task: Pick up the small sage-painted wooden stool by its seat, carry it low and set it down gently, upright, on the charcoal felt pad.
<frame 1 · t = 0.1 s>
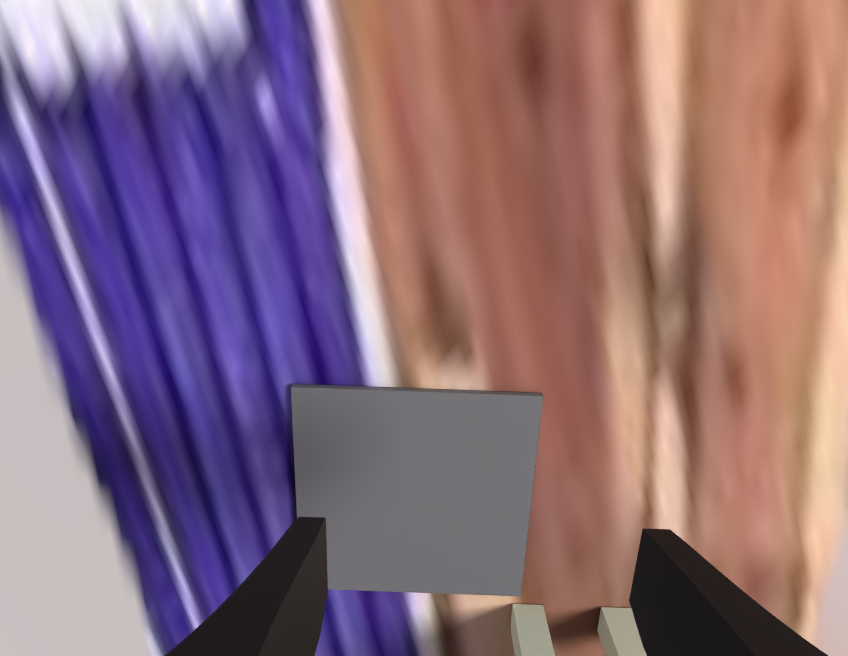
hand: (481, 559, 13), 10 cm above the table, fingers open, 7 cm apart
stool: (565, 651, 27), on the table
felt pad: (413, 494, 24), on the table
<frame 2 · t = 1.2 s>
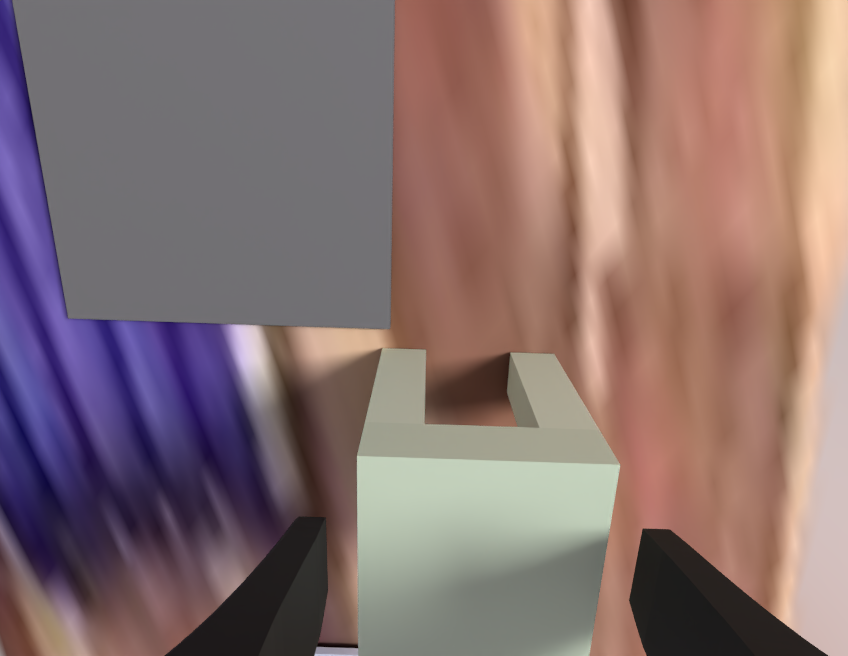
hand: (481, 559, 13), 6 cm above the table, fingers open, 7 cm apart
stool: (463, 427, 19), on the table
felt pad: (219, 155, 16), on the table
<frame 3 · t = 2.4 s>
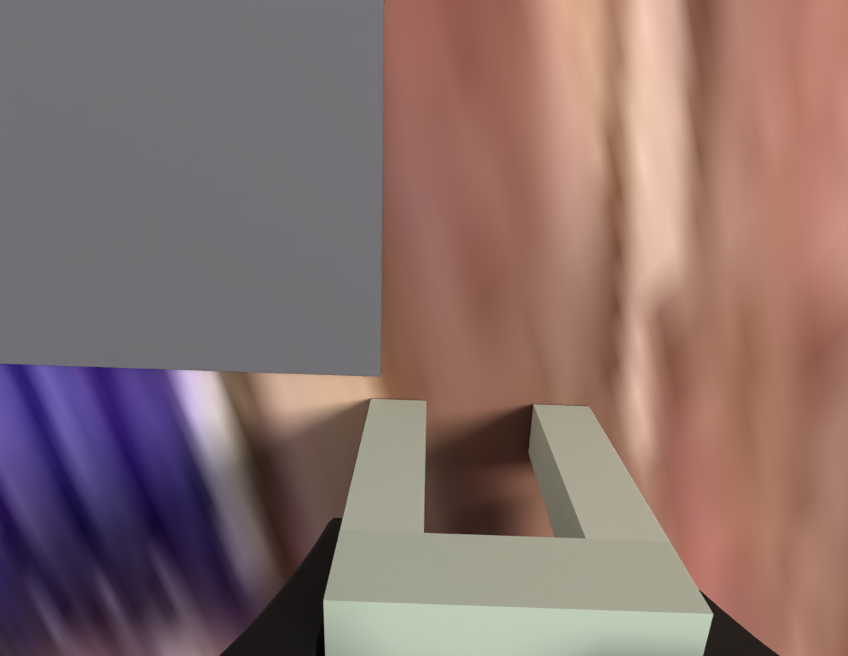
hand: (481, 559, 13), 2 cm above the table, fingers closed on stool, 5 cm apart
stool: (473, 495, 15), on the table, touching gripper
felt pad: (155, 153, 12), on the table
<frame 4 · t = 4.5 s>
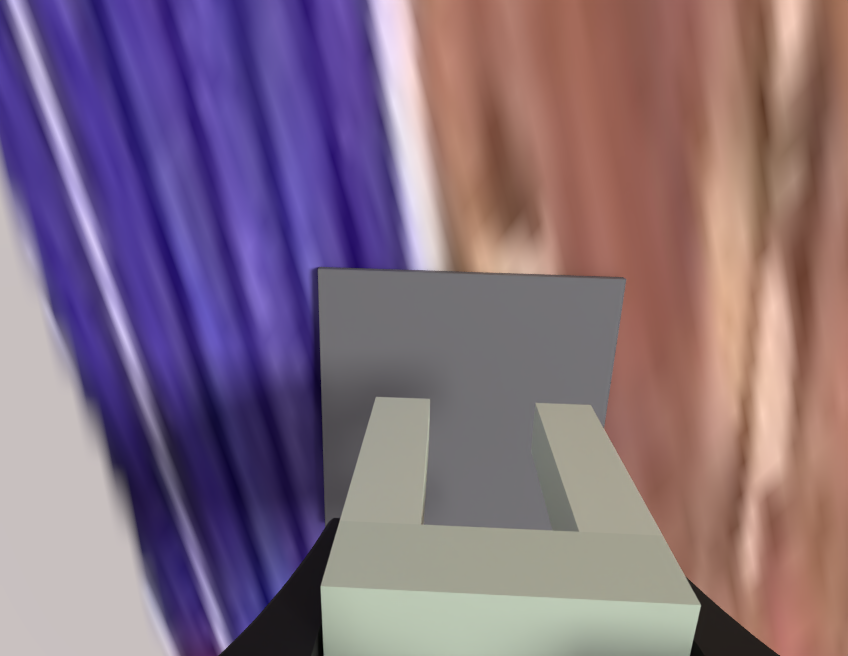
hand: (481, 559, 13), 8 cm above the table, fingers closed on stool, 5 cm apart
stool: (477, 492, 15), point 5 cm above the table, touching gripper
felt pad: (463, 409, 20), on the table
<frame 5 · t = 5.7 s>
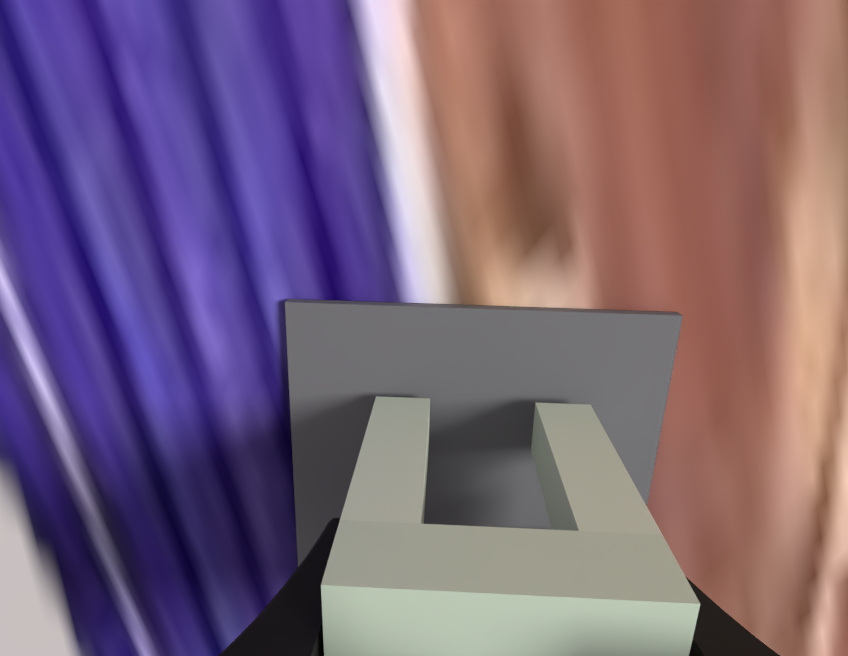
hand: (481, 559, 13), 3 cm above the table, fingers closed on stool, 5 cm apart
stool: (477, 492, 15), point 1 cm above the table, touching gripper
felt pad: (471, 474, 16), on the table
when the fingers open (3 cm above the table, at t = 6.6 s): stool stays where it is, resting on felt pad.
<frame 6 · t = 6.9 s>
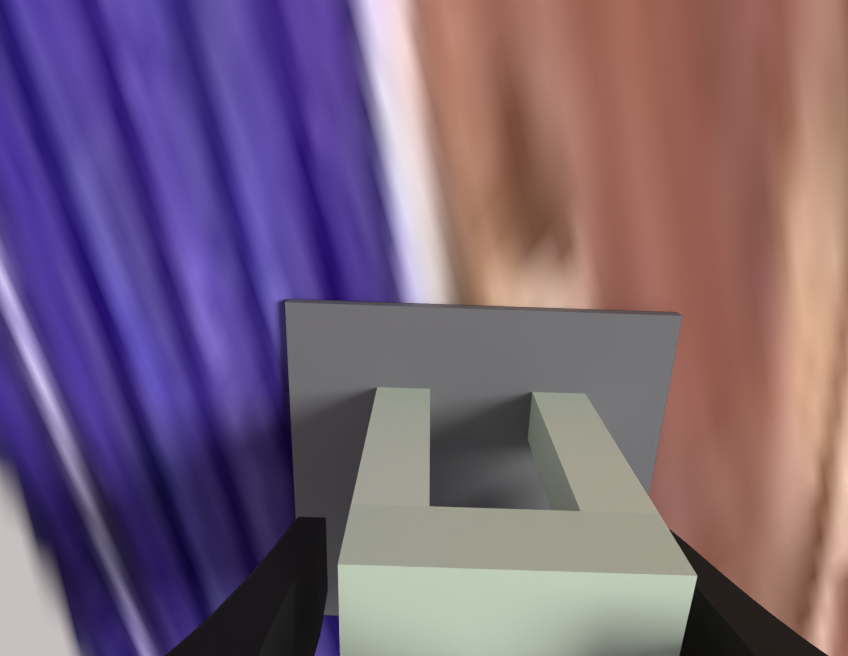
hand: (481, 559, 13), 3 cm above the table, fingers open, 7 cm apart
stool: (475, 479, 16), resting on felt pad
felt pad: (471, 474, 16), on the table
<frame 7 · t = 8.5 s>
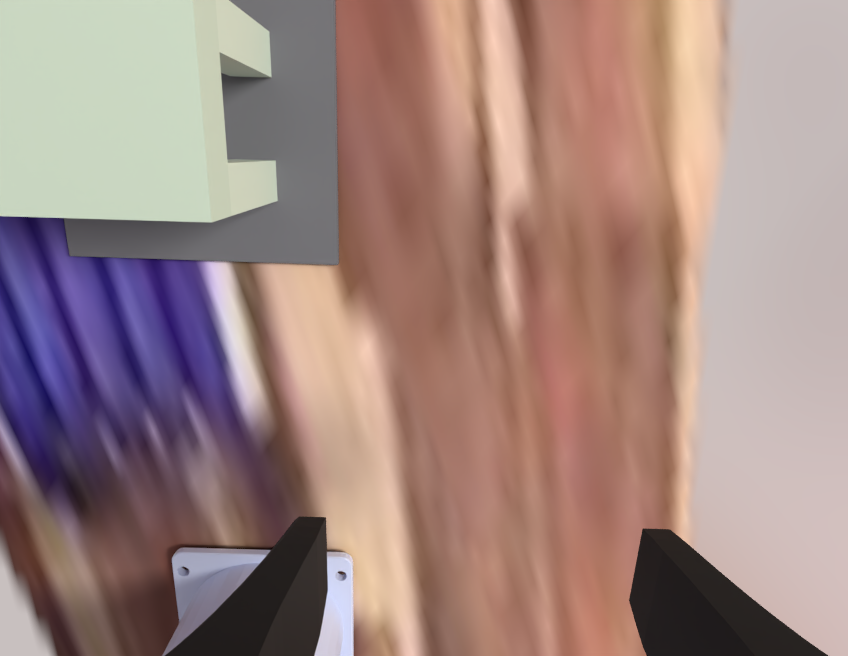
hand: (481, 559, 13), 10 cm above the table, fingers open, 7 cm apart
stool: (194, 117, 19), resting on felt pad
felt pad: (194, 118, 19), on the table
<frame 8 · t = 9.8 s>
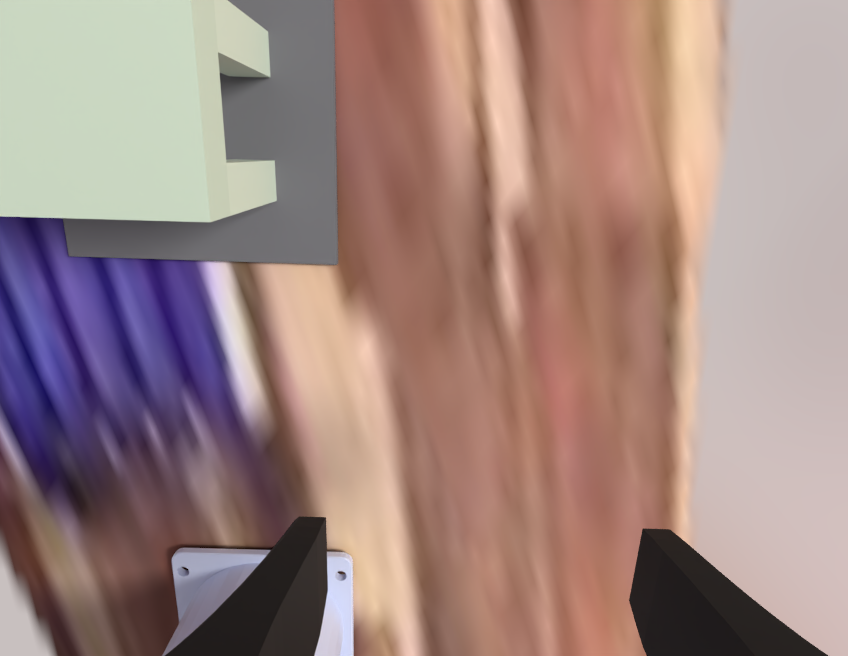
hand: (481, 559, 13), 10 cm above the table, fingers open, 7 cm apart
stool: (193, 117, 19), resting on felt pad
felt pad: (193, 118, 19), on the table
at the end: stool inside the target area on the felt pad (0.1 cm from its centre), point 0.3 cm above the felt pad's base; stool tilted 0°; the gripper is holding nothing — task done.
